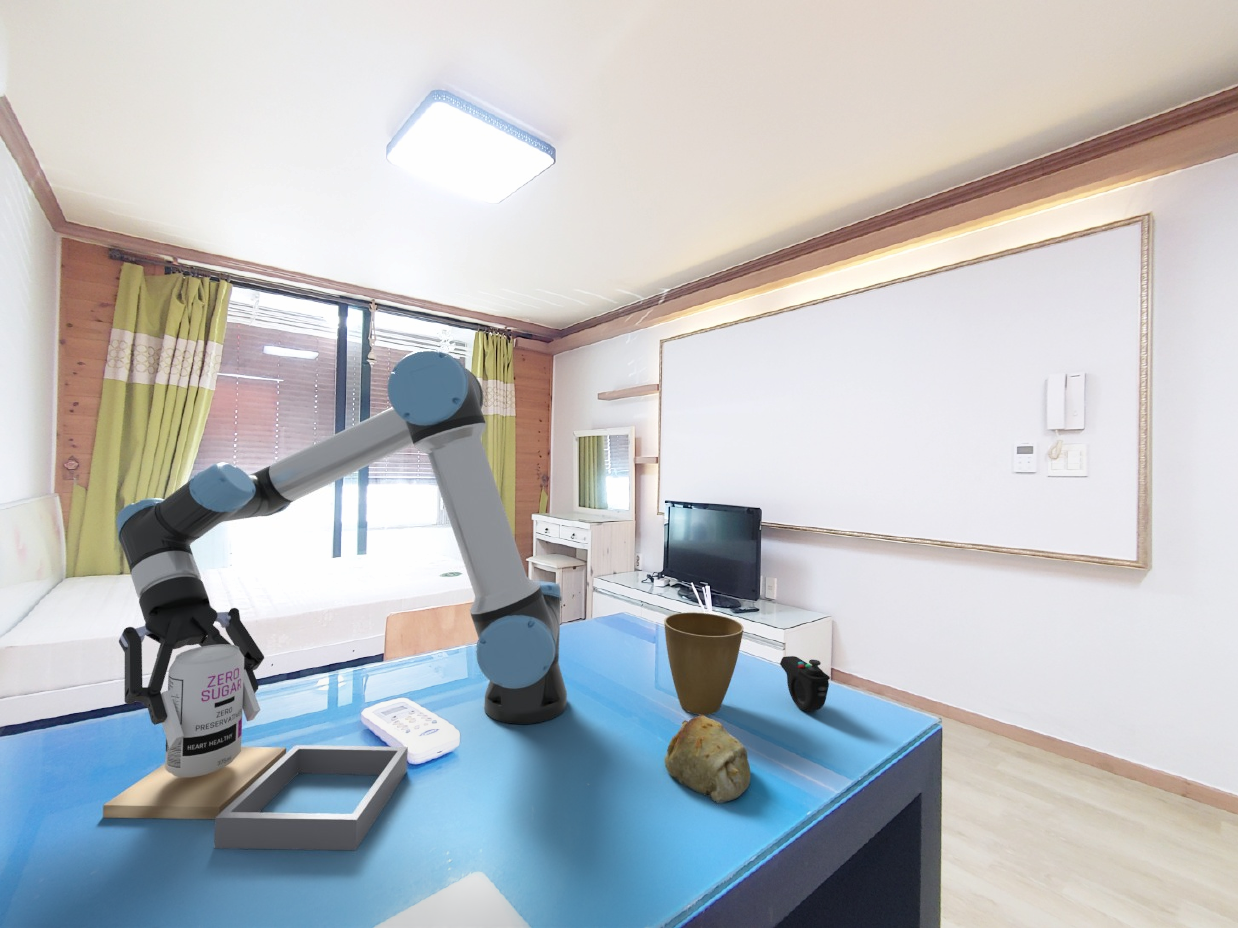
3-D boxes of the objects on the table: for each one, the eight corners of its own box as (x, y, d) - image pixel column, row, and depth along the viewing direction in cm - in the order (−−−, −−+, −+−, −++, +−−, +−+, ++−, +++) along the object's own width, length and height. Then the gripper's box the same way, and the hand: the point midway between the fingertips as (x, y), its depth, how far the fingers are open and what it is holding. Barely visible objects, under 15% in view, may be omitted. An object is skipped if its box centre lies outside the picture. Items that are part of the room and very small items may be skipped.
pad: (286, 757, 80) (286, 747, 80) (218, 818, 66) (219, 806, 66) (190, 755, 80) (190, 745, 80) (102, 817, 66) (103, 805, 66)
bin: (406, 771, 78) (407, 746, 78) (355, 849, 62) (356, 819, 62) (294, 769, 77) (295, 744, 77) (214, 848, 61) (215, 817, 61)
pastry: (660, 749, 87) (662, 699, 87) (738, 751, 87) (739, 701, 87) (669, 804, 72) (671, 744, 73) (761, 806, 73) (763, 747, 73)
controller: (811, 722, 97) (813, 667, 97) (776, 693, 109) (777, 644, 109) (832, 720, 98) (834, 665, 98) (795, 692, 110) (796, 643, 110)
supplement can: (193, 747, 77) (197, 642, 77) (253, 746, 78) (257, 642, 78) (148, 780, 69) (152, 663, 69) (216, 779, 69) (220, 663, 70)
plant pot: (651, 715, 98) (653, 627, 98) (674, 685, 112) (676, 608, 112) (733, 732, 92) (736, 639, 92) (746, 699, 106) (749, 618, 106)
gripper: (240, 591, 90) (288, 713, 82) (66, 620, 72) (103, 779, 64) (257, 564, 87) (308, 686, 79) (80, 586, 70) (122, 748, 61)
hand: (217, 727), depth 71 cm, fingers closed on supplement can, 8 cm apart
